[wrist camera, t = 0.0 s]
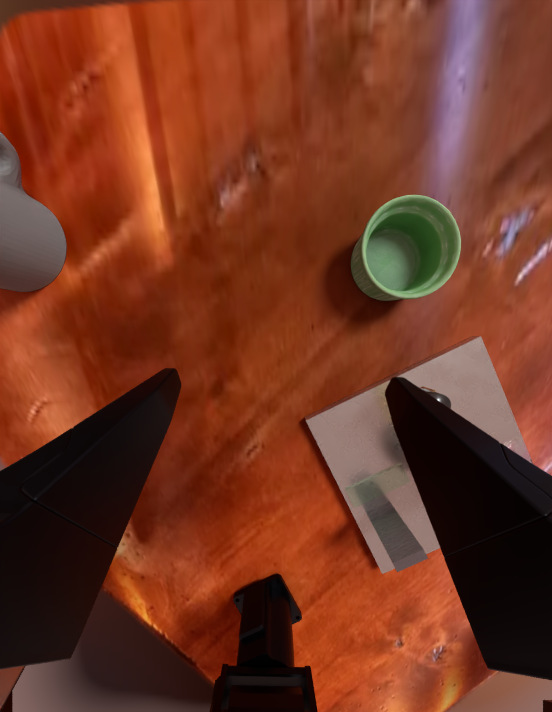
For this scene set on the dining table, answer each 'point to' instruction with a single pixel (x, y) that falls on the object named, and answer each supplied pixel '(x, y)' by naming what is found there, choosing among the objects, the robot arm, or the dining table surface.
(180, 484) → the dining table surface
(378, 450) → the lock base
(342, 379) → the dining table surface
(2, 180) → the coffee mug
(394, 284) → the ramekin
